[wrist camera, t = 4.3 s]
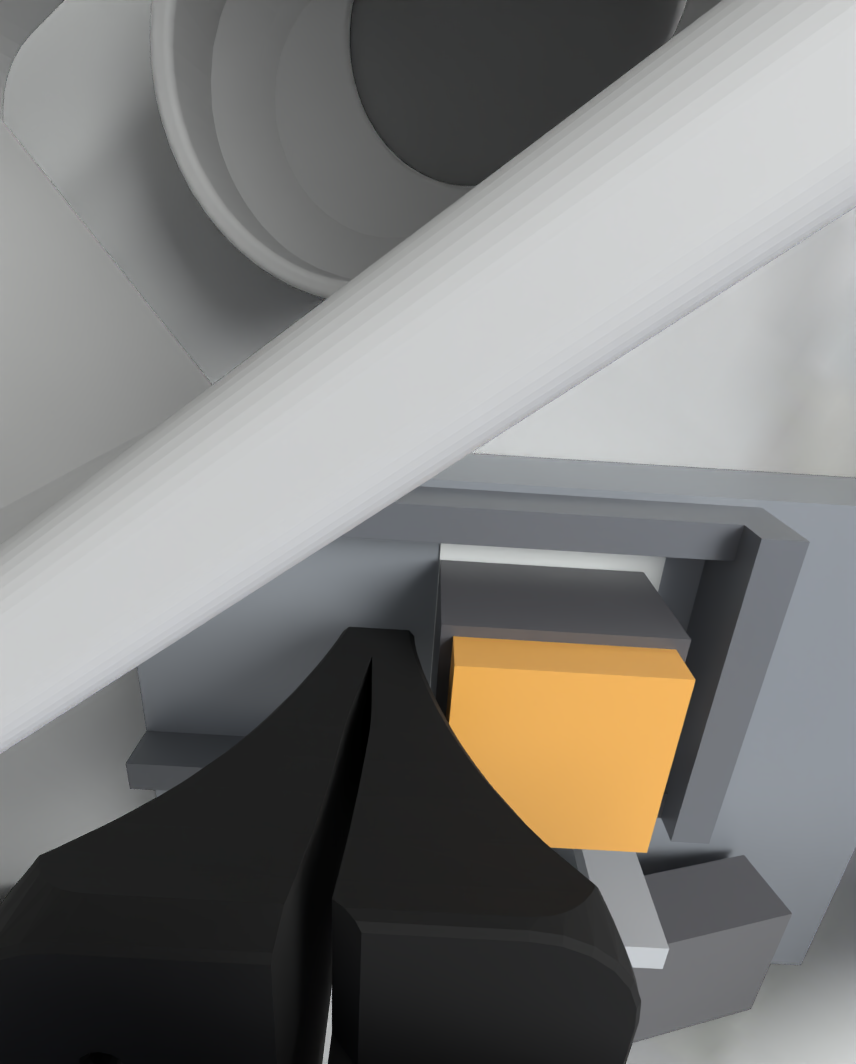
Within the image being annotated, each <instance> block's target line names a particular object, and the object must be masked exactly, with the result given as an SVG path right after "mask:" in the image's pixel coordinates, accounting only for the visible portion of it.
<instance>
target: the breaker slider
mask: <svg viewBox="0 0 856 1064" xmlns="http://www.w3.org/2000/svg"><path fill="white" fill-rule="evenodd" d="M690 643H691V639H690V637H689V636H688V634H687V633H686V632H685V630H684V629H683V627H682V626H681V624H680V623H679V622H678V620H677V619H676V617H675V616H674V614H673V613H672V612H671V610H670V609H669V607H668V606H667V604H666V603H665V602H664V600H663V599H662V597H661V596H660V595H659V593H658V592H657V590H656V589H655V587H654V586H653V585H652V583H651V582H650V580H649V579H648V577H647V576H646V575H645V573H644V572H631V571H615V570H598V569H582V568H565V567H549V566H533V565H516V564H500V563H484V562H467V561H451V560H440V572H439V585H438V598H437V611H436V623H435V636H434V649H433V662H432V675H431V690H432V692H433V694H434V697H435V699H436V701H437V703H438V705H439V707H440V709H441V711H442V713H443V714H444V716H445V718H446V720H447V721H448V723H449V725H450V727H451V729H452V730H453V732H454V733H455V735H456V737H457V738H458V740H459V742H460V743H461V745H462V746H463V748H464V749H465V751H466V752H467V753H468V755H469V756H470V758H471V759H472V761H473V762H474V764H475V765H476V766H477V768H478V769H479V770H480V771H481V773H482V774H483V775H484V777H485V778H486V779H487V781H488V782H489V783H490V784H491V786H492V787H493V788H494V789H495V790H496V791H497V793H498V794H499V795H500V796H501V797H502V798H503V799H504V800H505V802H506V803H507V804H508V805H509V806H510V807H511V808H512V809H513V810H514V812H515V813H516V814H517V815H518V816H519V817H520V818H521V819H522V821H523V822H524V823H525V824H526V825H527V826H528V827H529V828H530V829H531V830H532V831H533V832H534V833H535V834H536V835H537V836H538V837H539V838H540V839H542V840H543V841H544V842H545V843H546V844H547V845H548V846H549V847H550V848H569V849H587V850H605V851H624V852H642V853H647V851H648V847H649V844H650V840H651V837H652V833H653V829H654V826H655V822H656V819H657V815H658V812H659V808H660V805H661V801H662V798H663V794H664V790H665V787H666V783H667V780H668V776H669V773H670V769H671V766H672V762H673V759H674V755H675V751H676V748H677V744H678V741H679V737H680V734H681V730H682V727H683V723H684V720H685V716H686V712H687V709H688V705H689V702H690V698H691V695H692V691H693V688H694V684H695V681H696V680H695V678H694V677H693V675H692V673H691V672H690V670H689V669H688V667H687V666H686V664H685V661H686V657H687V654H688V650H689V646H690Z"/></svg>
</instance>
